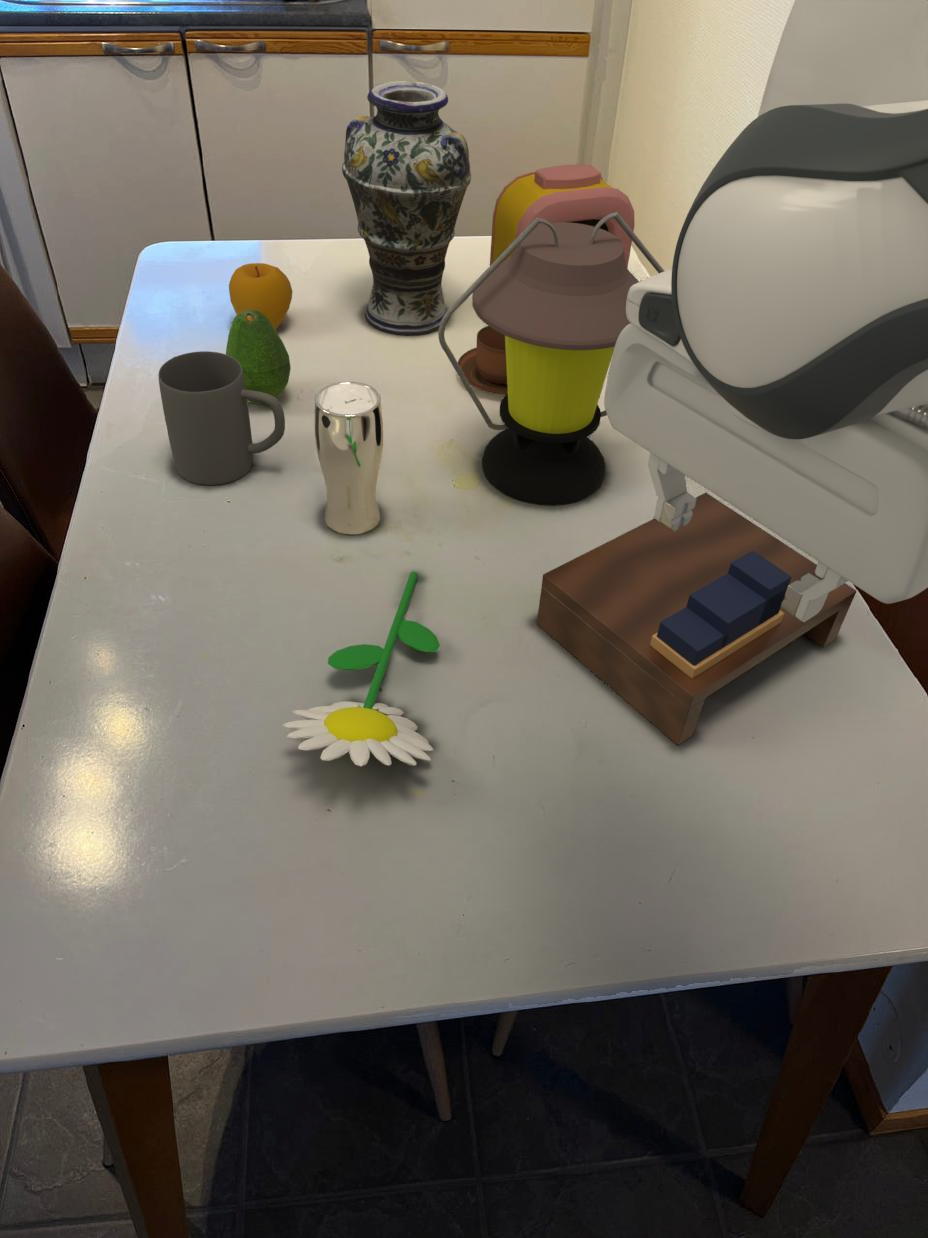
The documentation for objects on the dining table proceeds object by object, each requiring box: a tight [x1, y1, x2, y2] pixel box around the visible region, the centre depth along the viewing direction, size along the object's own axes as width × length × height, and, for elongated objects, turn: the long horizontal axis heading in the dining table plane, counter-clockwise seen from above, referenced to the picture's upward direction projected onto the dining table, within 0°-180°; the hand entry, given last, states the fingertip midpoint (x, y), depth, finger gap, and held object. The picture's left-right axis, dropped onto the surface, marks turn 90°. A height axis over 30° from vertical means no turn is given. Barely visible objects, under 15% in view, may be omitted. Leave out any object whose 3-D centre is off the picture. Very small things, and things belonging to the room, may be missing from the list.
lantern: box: [437, 212, 665, 506], centre depth 105 cm, size 25×19×30 cm
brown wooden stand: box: [536, 492, 857, 746], centre depth 94 cm, size 19×23×6 cm
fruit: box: [225, 310, 292, 405], centre depth 119 cm, size 8×8×12 cm
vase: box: [341, 80, 472, 337], centre depth 132 cm, size 17×17×30 cm
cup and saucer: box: [457, 325, 508, 395], centre depth 128 cm, size 12×12×6 cm
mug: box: [157, 350, 286, 486], centre depth 108 cm, size 14×9×12 cm
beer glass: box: [314, 381, 384, 536], centre depth 101 cm, size 7×7×15 cm
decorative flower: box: [282, 571, 441, 767], centre depth 88 cm, size 13×5×30 cm
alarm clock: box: [489, 164, 635, 269], centre depth 140 cm, size 18×11×19 cm, turn 112°
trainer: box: [650, 551, 792, 679], centre depth 85 cm, size 12×5×6 cm, turn 128°
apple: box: [228, 262, 293, 330], centre depth 134 cm, size 8×8×9 cm
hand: (732, 564), depth 55 cm, fingers open, 8 cm apart
